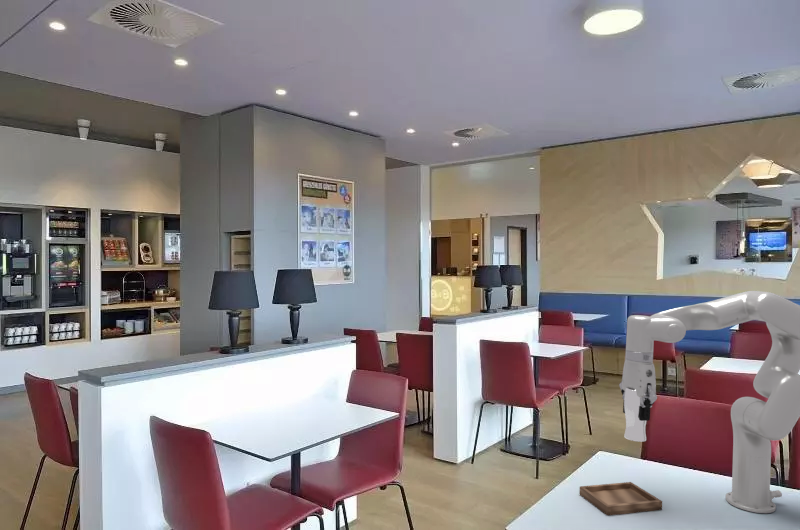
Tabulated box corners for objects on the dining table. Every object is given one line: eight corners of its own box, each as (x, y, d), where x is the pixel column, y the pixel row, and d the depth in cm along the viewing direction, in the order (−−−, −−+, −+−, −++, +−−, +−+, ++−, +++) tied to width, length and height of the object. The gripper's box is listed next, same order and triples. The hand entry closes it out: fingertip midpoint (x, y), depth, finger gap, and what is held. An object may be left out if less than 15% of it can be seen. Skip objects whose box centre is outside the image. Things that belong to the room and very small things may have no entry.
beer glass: (625, 433, 170) (628, 384, 170) (650, 438, 166) (652, 388, 165) (619, 438, 164) (622, 388, 164) (644, 444, 160) (647, 392, 160)
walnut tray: (630, 489, 173) (630, 481, 173) (662, 509, 159) (662, 501, 159) (579, 494, 168) (579, 486, 168) (607, 515, 155) (607, 506, 155)
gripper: (670, 362, 157) (667, 425, 157) (631, 351, 174) (628, 408, 174) (647, 362, 155) (644, 425, 155) (610, 351, 172) (607, 408, 172)
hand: (636, 416), depth 165 cm, fingers closed on beer glass, 6 cm apart
